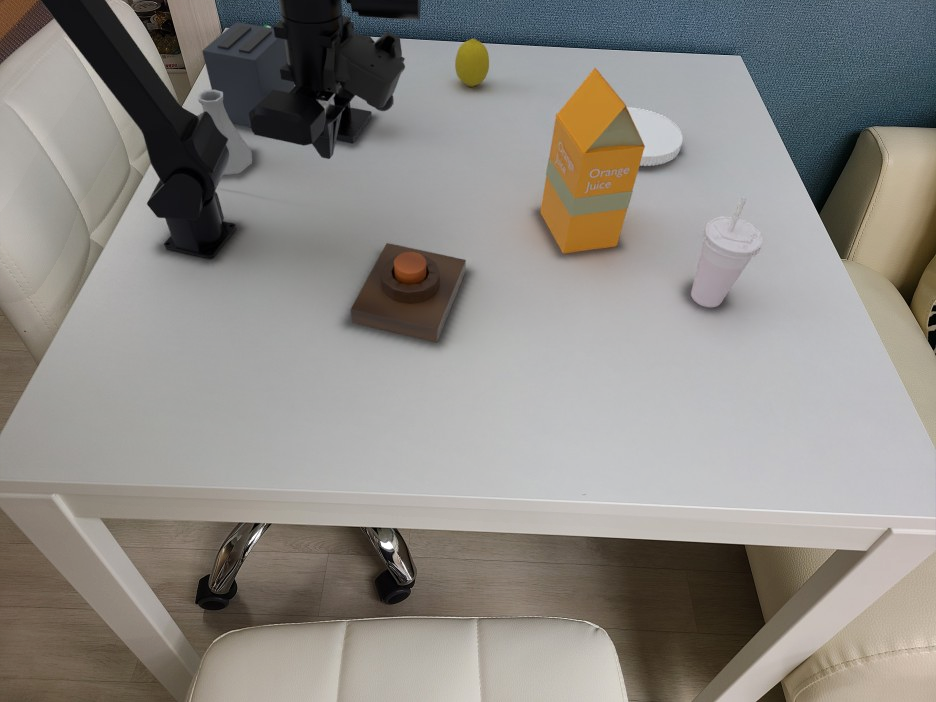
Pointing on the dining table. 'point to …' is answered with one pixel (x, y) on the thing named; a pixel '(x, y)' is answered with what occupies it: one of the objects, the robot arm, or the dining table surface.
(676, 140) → the plastic lid
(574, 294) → the dining table surface
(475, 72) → the lemon
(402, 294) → the control block
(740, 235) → the smoothie
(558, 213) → the orange juice
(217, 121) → the flask
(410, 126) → the dining table surface
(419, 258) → the button
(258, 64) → the toaster
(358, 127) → the lever bracket
